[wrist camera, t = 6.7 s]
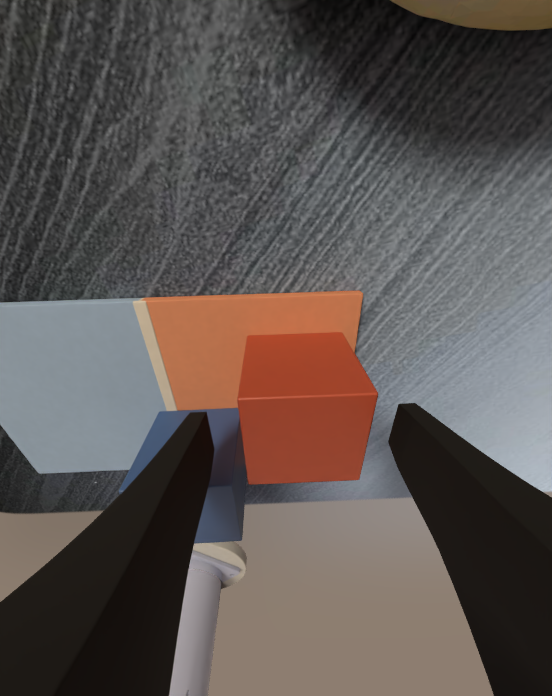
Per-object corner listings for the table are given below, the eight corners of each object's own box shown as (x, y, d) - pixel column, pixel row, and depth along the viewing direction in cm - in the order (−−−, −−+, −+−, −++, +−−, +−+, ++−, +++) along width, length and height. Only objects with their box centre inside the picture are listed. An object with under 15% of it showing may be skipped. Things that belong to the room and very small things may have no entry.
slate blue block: (176, 463, 16) (148, 546, 12) (158, 411, 14) (117, 491, 10) (247, 459, 16) (242, 541, 12) (240, 407, 14) (231, 485, 10)
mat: (44, 466, 16) (37, 474, 16) (-77, 304, 11) (-93, 309, 10) (336, 454, 17) (339, 462, 16) (360, 290, 11) (363, 293, 11)
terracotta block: (253, 407, 14) (248, 485, 10) (246, 334, 12) (236, 398, 8) (334, 404, 14) (360, 480, 10) (342, 331, 12) (379, 393, 8)
